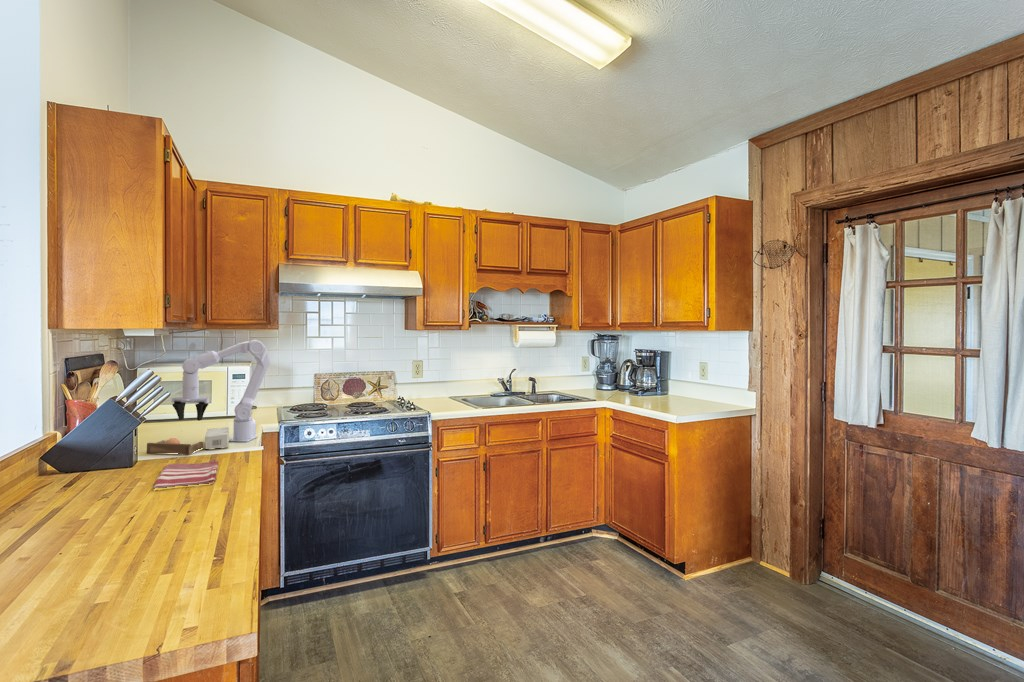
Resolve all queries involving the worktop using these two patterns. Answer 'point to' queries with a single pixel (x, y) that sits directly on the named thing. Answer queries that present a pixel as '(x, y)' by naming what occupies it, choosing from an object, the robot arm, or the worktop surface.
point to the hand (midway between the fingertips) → (190, 419)
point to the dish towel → (187, 474)
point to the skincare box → (217, 438)
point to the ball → (173, 441)
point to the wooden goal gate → (173, 447)
